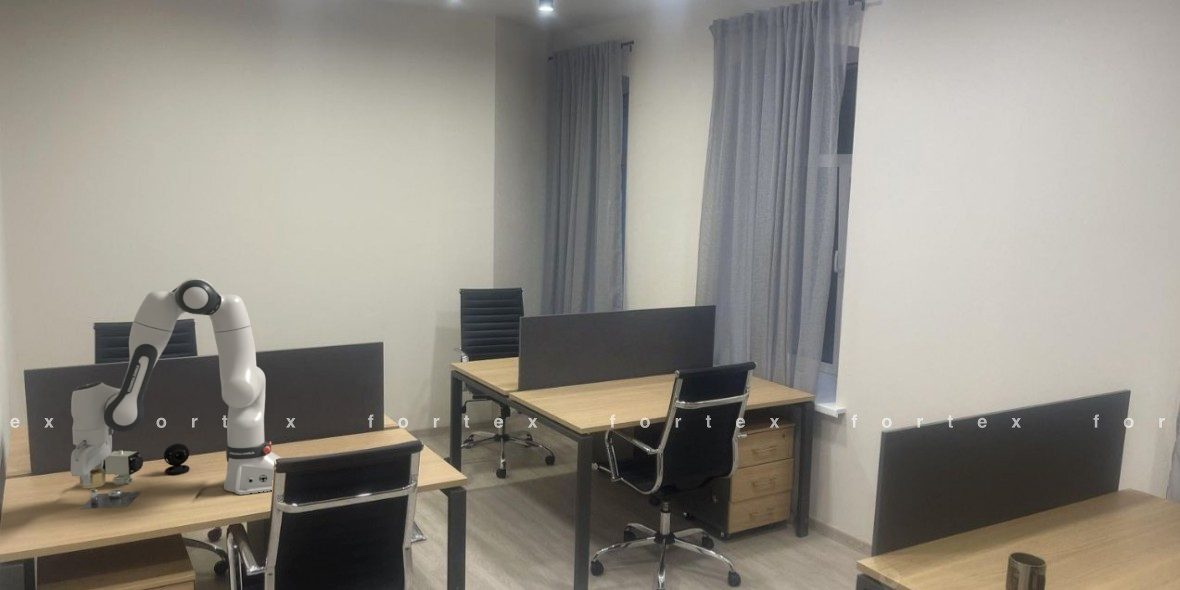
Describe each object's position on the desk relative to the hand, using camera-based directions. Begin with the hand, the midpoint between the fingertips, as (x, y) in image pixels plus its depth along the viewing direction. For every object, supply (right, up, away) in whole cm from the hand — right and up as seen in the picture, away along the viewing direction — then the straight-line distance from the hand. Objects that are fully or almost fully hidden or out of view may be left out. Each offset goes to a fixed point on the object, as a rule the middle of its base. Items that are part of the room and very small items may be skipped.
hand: (92, 480), depth 228 cm
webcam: (+8, -5, +32) cm, 33 cm away
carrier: (+3, -8, +4) cm, 9 cm away
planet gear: (0, -1, 0) cm, 1 cm away
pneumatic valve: (-2, -6, +18) cm, 20 cm away
